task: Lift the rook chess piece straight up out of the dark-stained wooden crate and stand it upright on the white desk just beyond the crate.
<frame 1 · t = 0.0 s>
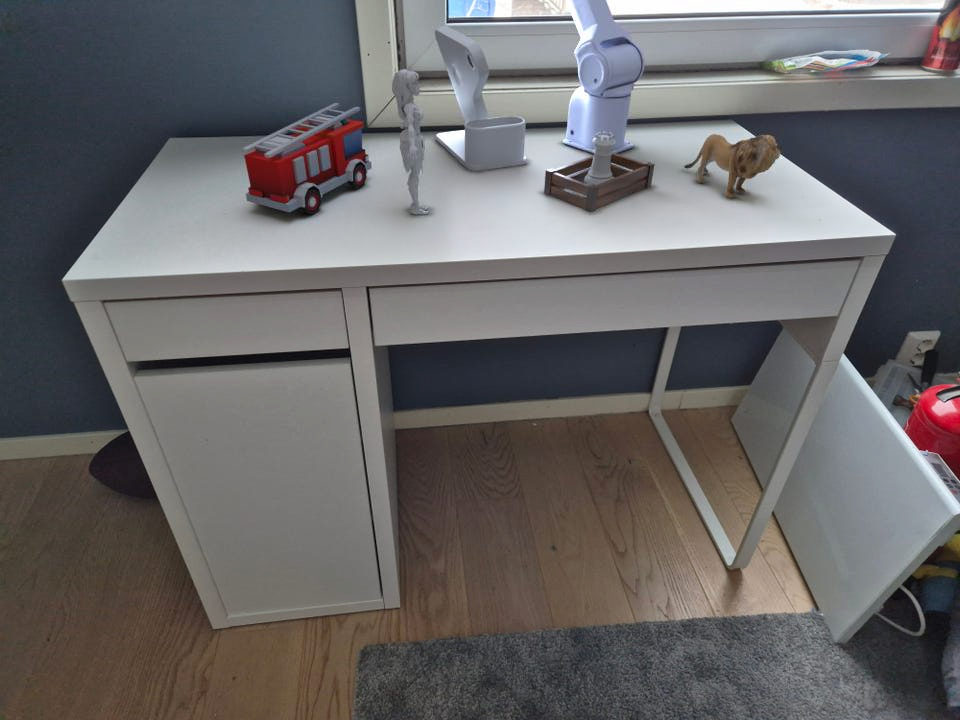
toy fire truck: (314, 195, 93), on the table
crate: (598, 189, 95), on the table
phone holder: (479, 151, 108), on the table
rook chess piece: (597, 190, 95), resting in crate
lion figurine: (724, 188, 97), on the table
human figurine: (414, 213, 89), on the table
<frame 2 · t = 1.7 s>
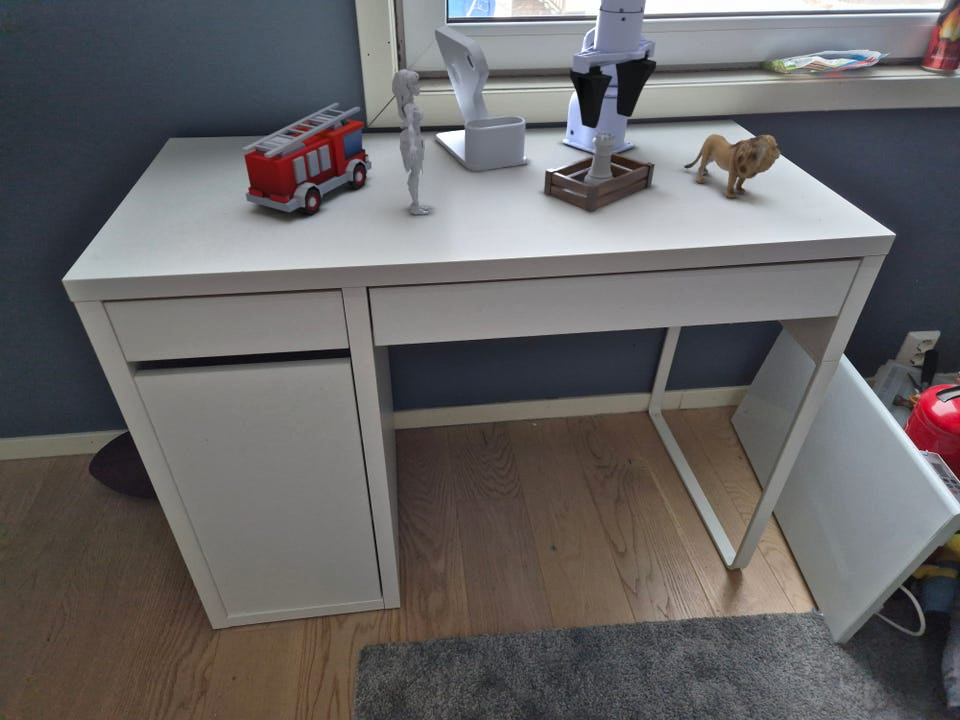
hand: (607, 120, 89), 10 cm above the table, tool pointing down, fingers open, 7 cm apart
nothing on the table moved.
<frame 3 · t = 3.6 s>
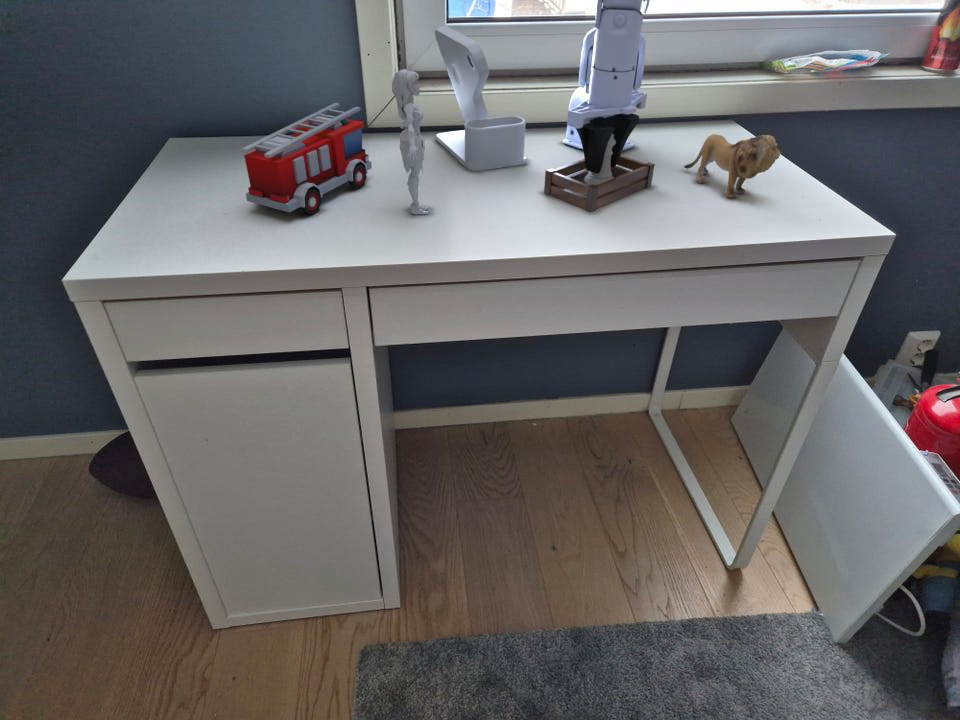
hand: (600, 168, 93), 3 cm above the table, tool pointing down, fingers closed on rook chess piece, 3 cm apart
rook chess piece: (598, 190, 95), resting in crate, touching gripper
everything else where it was.
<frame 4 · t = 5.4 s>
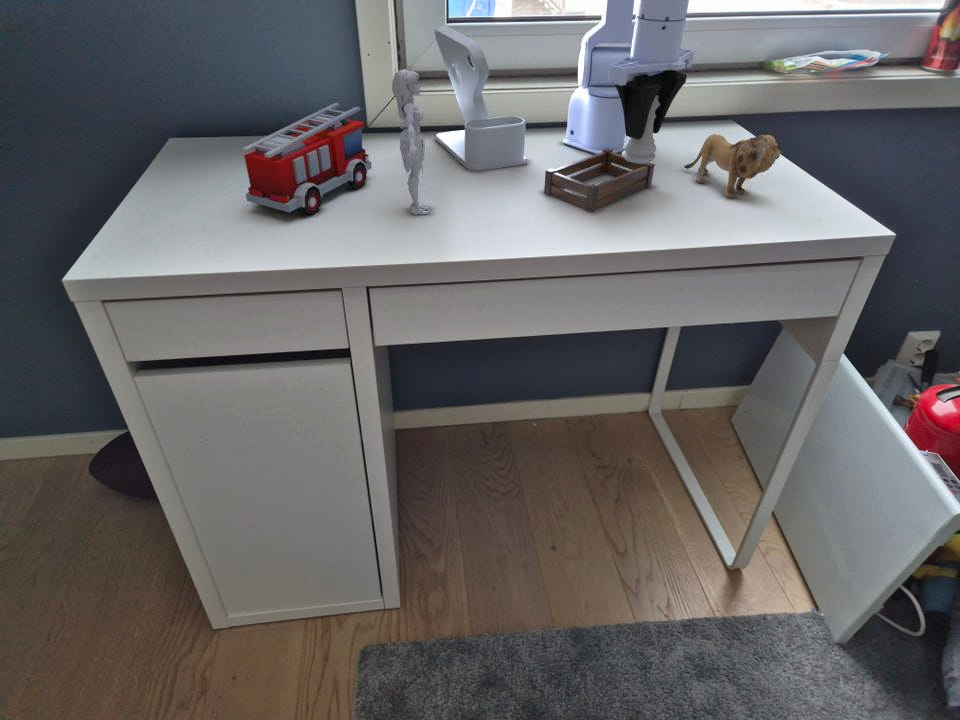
hand: (642, 134, 84), 10 cm above the table, tool pointing down, fingers closed on rook chess piece, 3 cm apart
rook chess piece: (637, 159, 87), point 7 cm above the table, touching gripper
everything else where it was.
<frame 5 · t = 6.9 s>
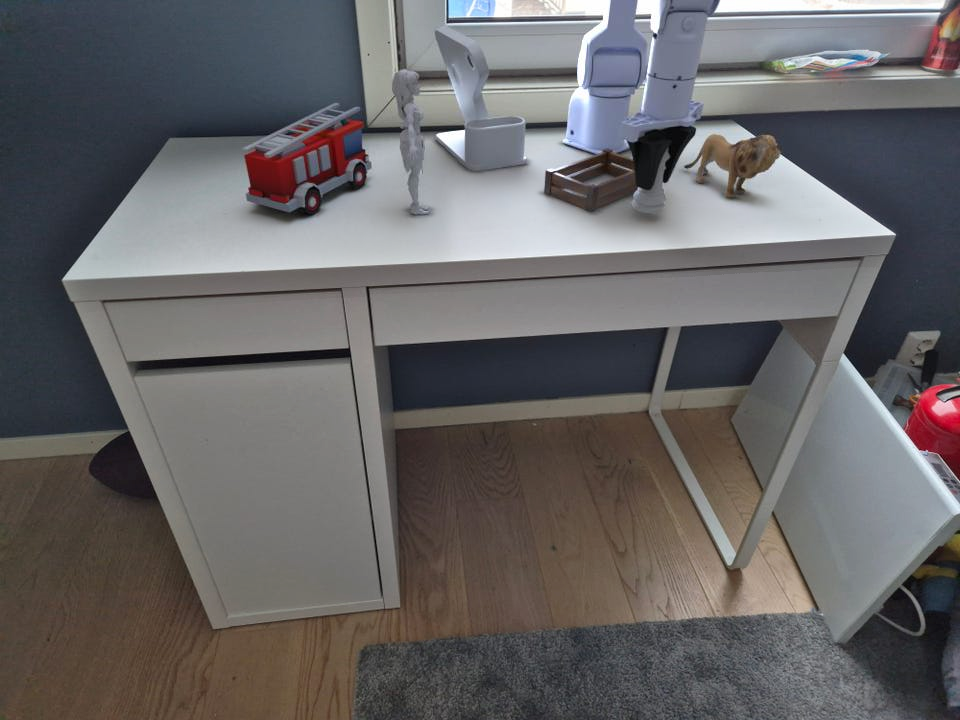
hand: (651, 184, 86), 4 cm above the table, tool pointing down, fingers closed on rook chess piece, 3 cm apart
rook chess piece: (647, 208, 88), point 1 cm above the table, touching gripper
everything else where it was.
when the fingers open (3 cm above the table, at t = 7.7 s): rook chess piece stays where it is, on the table.
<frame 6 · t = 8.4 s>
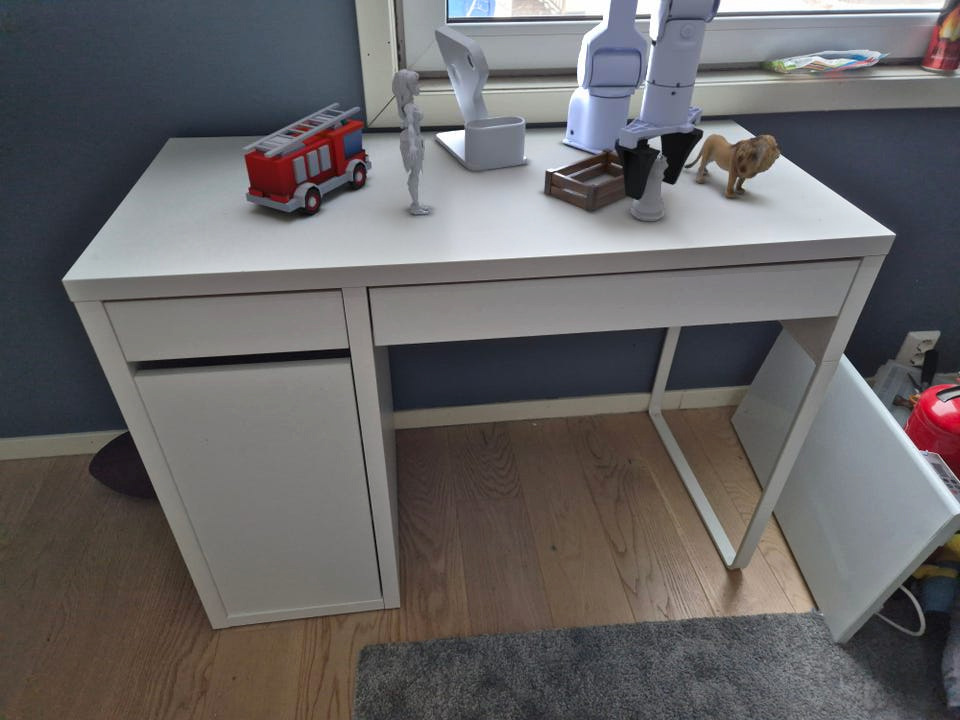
hand: (650, 189, 86), 4 cm above the table, tool pointing down, fingers open, 7 cm apart
rook chess piece: (646, 216, 88), on the table
everything else where it was.
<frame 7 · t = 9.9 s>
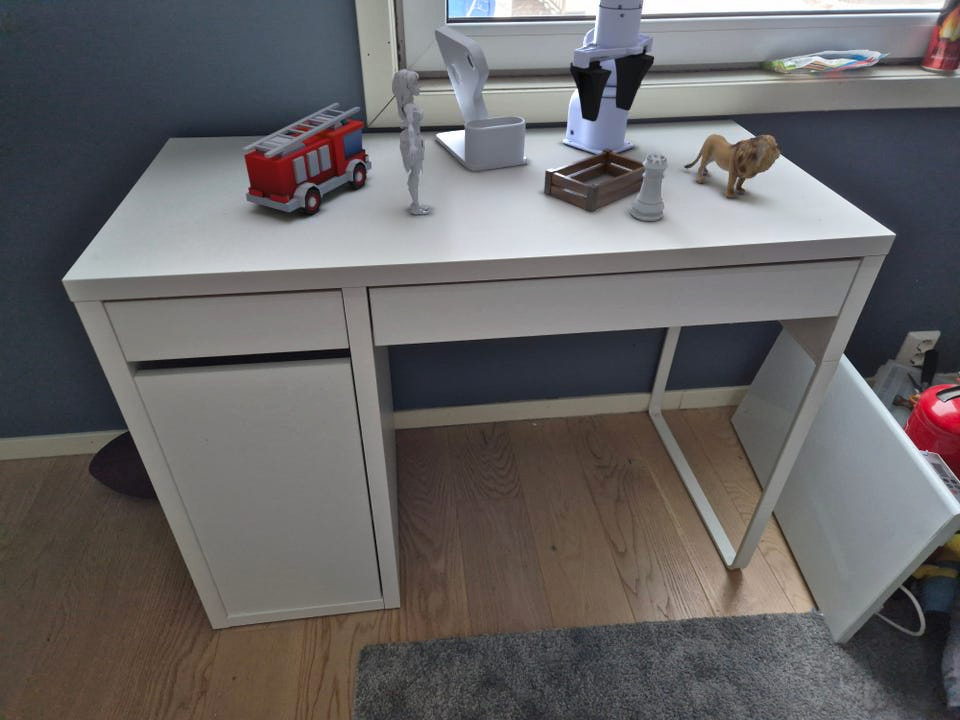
hand: (606, 114, 92), 10 cm above the table, tool pointing down, fingers open, 7 cm apart
nothing on the table moved.
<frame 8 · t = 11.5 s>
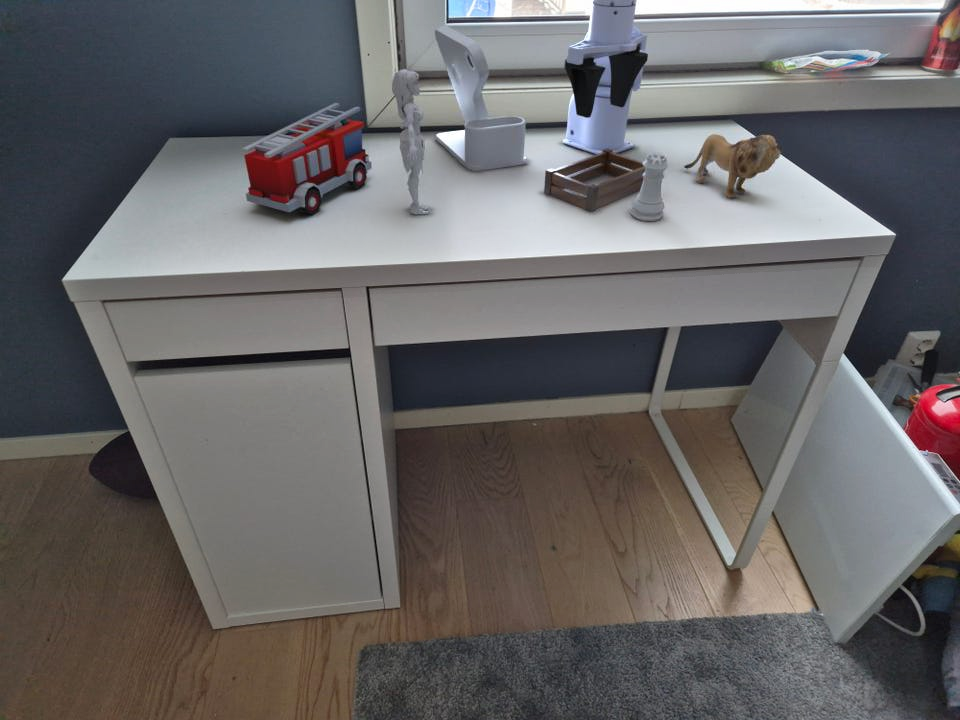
hand: (600, 110, 93), 10 cm above the table, tool pointing down, fingers open, 7 cm apart
nothing on the table moved.
at the end: rook chess piece 0.0 cm from the target spot, on the table; rook chess piece tilted 0°; the gripper is holding nothing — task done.
